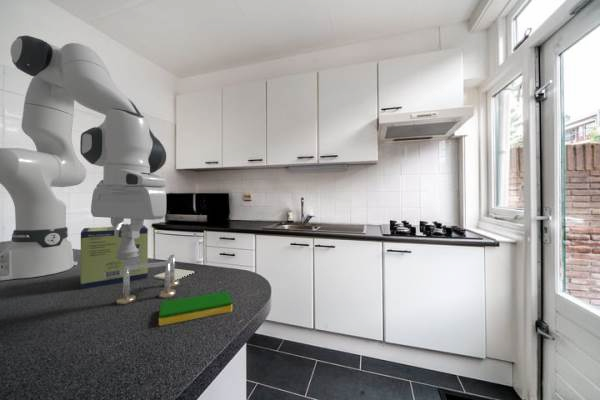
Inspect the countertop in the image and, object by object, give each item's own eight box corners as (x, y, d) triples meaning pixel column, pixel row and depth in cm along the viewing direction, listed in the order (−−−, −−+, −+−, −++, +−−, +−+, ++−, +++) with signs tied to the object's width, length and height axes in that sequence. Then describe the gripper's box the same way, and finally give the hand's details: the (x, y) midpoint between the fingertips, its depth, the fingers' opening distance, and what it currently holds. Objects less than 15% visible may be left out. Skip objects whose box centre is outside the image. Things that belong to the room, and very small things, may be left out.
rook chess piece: (127, 260, 53) (127, 225, 53) (110, 259, 53) (110, 224, 53) (143, 256, 57) (143, 223, 57) (127, 255, 58) (128, 222, 58)
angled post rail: (112, 303, 54) (113, 266, 54) (169, 281, 69) (170, 252, 69) (142, 310, 51) (143, 271, 51) (196, 285, 66) (196, 255, 66)
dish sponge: (161, 312, 51) (161, 301, 51) (227, 300, 57) (227, 290, 57) (158, 328, 45) (158, 315, 45) (232, 313, 51) (232, 302, 51)
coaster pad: (153, 277, 72) (153, 275, 72) (175, 270, 79) (175, 268, 79) (174, 280, 69) (174, 278, 69) (194, 273, 77) (194, 271, 77)
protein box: (82, 279, 70) (82, 227, 70) (144, 270, 80) (144, 224, 80) (79, 290, 62) (79, 231, 62) (148, 278, 72) (149, 227, 72)
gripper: (82, 178, 55) (81, 236, 55) (146, 177, 49) (146, 242, 49) (111, 180, 61) (110, 233, 61) (171, 179, 55) (171, 238, 55)
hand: (126, 237), depth 55 cm, fingers closed on rook chess piece, 3 cm apart
